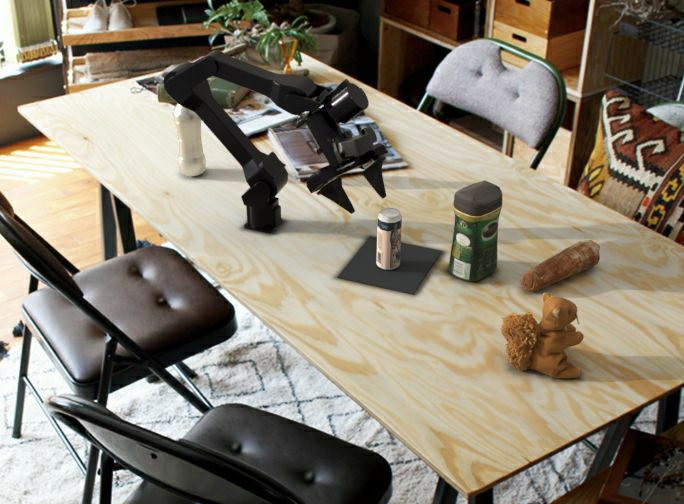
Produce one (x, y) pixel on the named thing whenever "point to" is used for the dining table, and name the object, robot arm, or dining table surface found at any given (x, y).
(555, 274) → the cassava root
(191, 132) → the plastic bottle
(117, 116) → the dining table surface
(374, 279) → the mat
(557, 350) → the stuffed squirrel
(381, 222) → the beer can
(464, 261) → the coffee jar
